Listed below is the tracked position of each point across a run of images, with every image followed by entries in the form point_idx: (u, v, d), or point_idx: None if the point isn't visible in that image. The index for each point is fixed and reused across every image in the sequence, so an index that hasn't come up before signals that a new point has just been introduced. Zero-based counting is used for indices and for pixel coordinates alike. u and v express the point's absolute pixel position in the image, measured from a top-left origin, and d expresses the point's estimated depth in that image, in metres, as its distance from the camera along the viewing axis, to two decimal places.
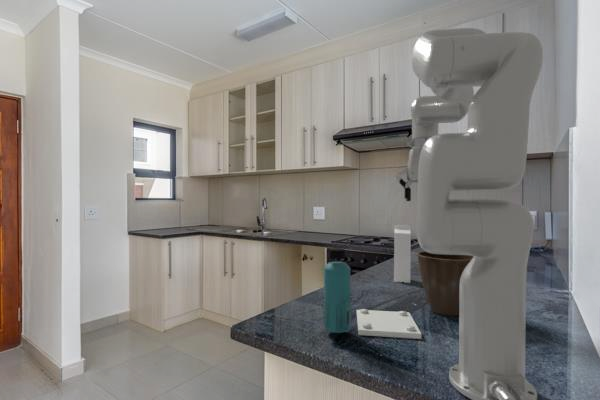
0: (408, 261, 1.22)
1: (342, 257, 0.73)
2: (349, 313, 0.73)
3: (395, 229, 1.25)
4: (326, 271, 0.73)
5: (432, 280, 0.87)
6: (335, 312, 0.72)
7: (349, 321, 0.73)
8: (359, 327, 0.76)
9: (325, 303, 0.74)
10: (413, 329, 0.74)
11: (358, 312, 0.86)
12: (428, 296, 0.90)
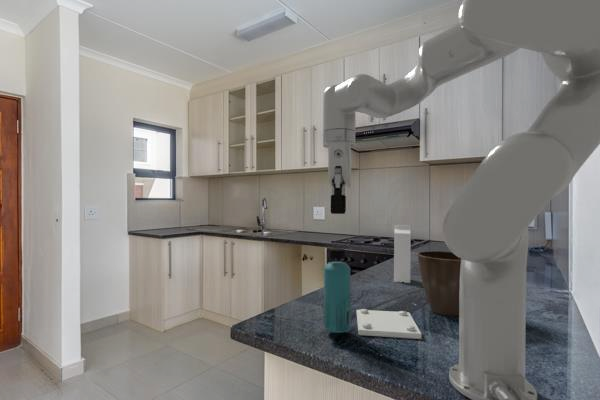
0: (408, 261, 1.22)
1: (342, 257, 0.73)
2: (349, 313, 0.73)
3: (395, 229, 1.25)
4: (326, 271, 0.73)
5: (432, 280, 0.87)
6: (335, 312, 0.72)
7: (349, 321, 0.73)
8: (359, 327, 0.76)
9: (325, 303, 0.74)
10: (413, 329, 0.74)
11: (358, 312, 0.86)
12: (428, 296, 0.90)
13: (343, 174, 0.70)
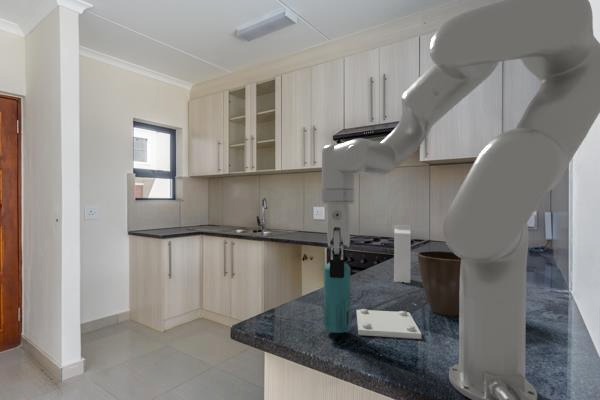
0: (408, 261, 1.22)
1: None
2: (349, 313, 0.73)
3: (395, 229, 1.25)
4: (326, 271, 0.73)
5: (432, 280, 0.87)
6: (335, 312, 0.72)
7: (349, 321, 0.73)
8: (359, 327, 0.76)
9: (325, 303, 0.74)
10: (413, 329, 0.74)
11: (358, 312, 0.86)
12: (428, 296, 0.90)
13: (342, 236, 0.70)
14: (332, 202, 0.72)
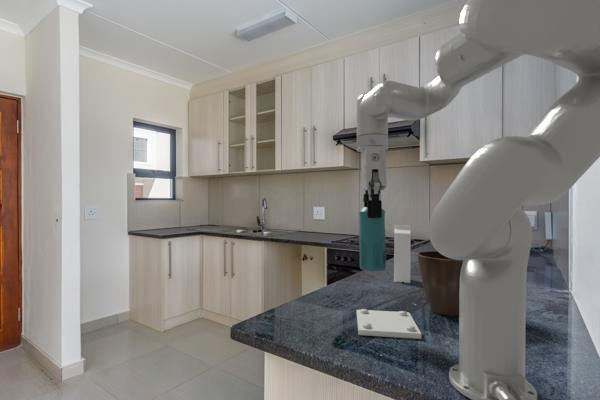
0: (408, 261, 1.22)
1: None
2: (385, 253, 0.77)
3: (395, 229, 1.25)
4: (363, 213, 0.77)
5: (432, 280, 0.87)
6: (372, 251, 0.75)
7: (384, 261, 0.77)
8: (359, 327, 0.76)
9: (361, 244, 0.77)
10: (413, 329, 0.74)
11: (358, 312, 0.86)
12: (428, 296, 0.90)
13: (380, 177, 0.74)
14: (369, 146, 0.75)
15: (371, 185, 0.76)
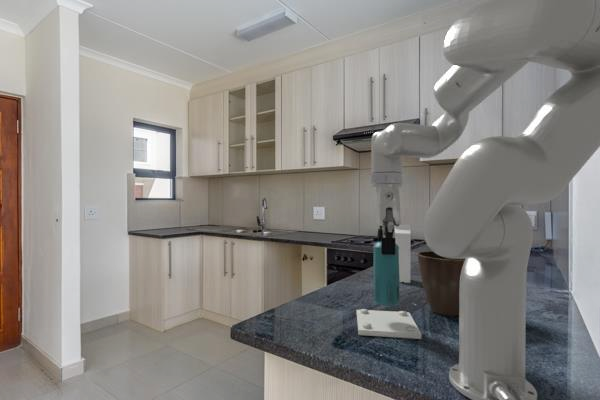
0: (408, 261, 1.22)
1: None
2: (398, 288, 0.79)
3: (395, 229, 1.25)
4: (377, 249, 0.79)
5: (432, 280, 0.87)
6: (386, 287, 0.77)
7: (398, 296, 0.78)
8: (359, 327, 0.76)
9: (375, 279, 0.79)
10: (413, 329, 0.74)
11: (358, 312, 0.86)
12: (428, 296, 0.90)
13: (394, 215, 0.75)
14: (383, 184, 0.77)
15: (385, 222, 0.77)
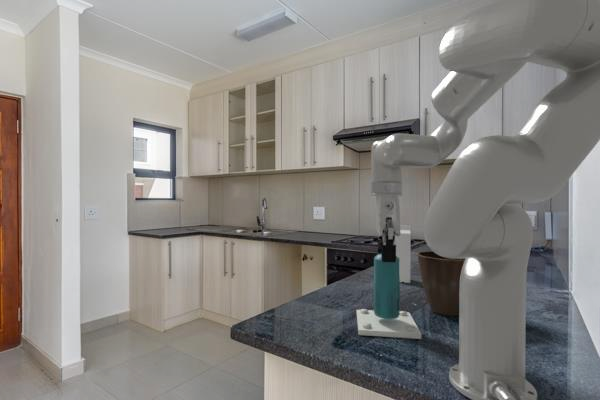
0: (408, 261, 1.22)
1: None
2: (399, 301, 0.79)
3: None
4: (377, 261, 0.79)
5: (432, 280, 0.87)
6: (386, 300, 0.77)
7: (398, 308, 0.78)
8: (359, 327, 0.76)
9: (376, 291, 0.79)
10: (413, 329, 0.74)
11: (358, 312, 0.86)
12: (428, 296, 0.90)
13: (394, 225, 0.75)
14: (383, 194, 0.77)
15: None
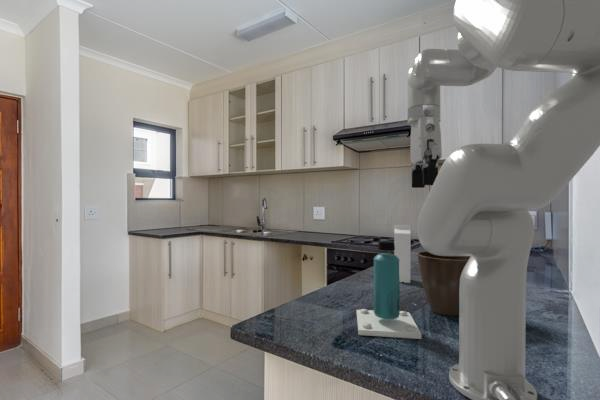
0: (408, 261, 1.22)
1: (392, 249, 0.78)
2: (398, 301, 0.78)
3: (395, 229, 1.25)
4: (377, 262, 0.79)
5: (432, 280, 0.87)
6: (386, 300, 0.77)
7: (398, 309, 0.78)
8: (359, 327, 0.76)
9: (376, 292, 0.79)
10: (413, 329, 0.74)
11: (358, 312, 0.86)
12: (428, 296, 0.90)
13: None
14: (423, 117, 0.75)
15: None
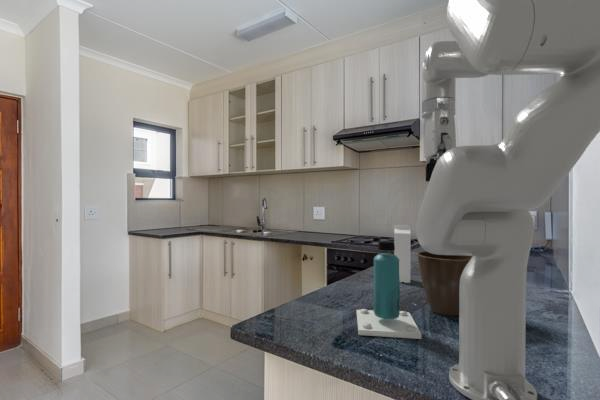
0: (408, 261, 1.22)
1: (392, 249, 0.78)
2: (398, 301, 0.78)
3: (395, 229, 1.25)
4: (377, 262, 0.79)
5: (432, 280, 0.87)
6: (386, 300, 0.77)
7: (398, 309, 0.78)
8: (359, 327, 0.76)
9: (376, 292, 0.79)
10: (413, 329, 0.74)
11: (358, 312, 0.86)
12: (428, 296, 0.90)
13: None
14: (437, 110, 0.74)
15: None
